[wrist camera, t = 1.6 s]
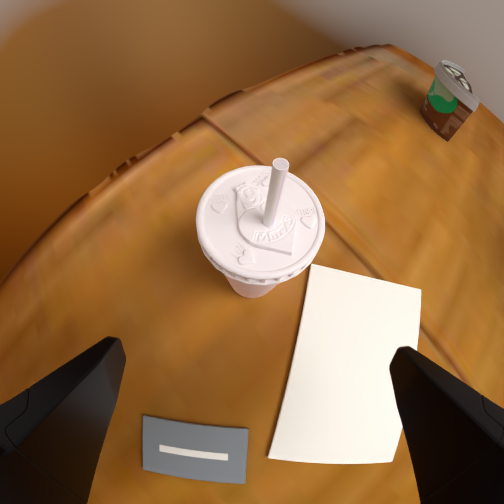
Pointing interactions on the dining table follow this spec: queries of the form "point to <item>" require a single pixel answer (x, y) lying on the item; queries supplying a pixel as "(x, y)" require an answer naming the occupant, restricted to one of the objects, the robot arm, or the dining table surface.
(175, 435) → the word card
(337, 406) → the paper
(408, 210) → the dining table surface
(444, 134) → the food container
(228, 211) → the smoothie
